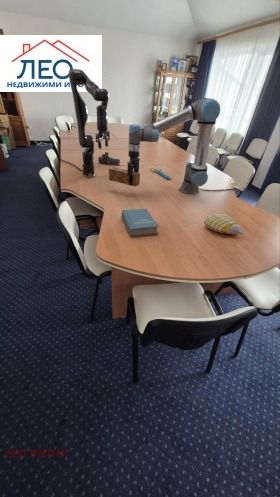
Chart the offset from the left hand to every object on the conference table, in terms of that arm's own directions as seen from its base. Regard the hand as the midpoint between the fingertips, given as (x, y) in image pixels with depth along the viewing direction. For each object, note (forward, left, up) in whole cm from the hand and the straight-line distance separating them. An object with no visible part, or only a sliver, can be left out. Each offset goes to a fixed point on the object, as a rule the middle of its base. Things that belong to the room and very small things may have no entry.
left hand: (103, 147), depth 167 cm
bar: (+22, -6, -20) cm, 31 cm away
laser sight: (-31, +51, -29) cm, 67 cm away
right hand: (+30, -6, -20) cm, 36 cm away
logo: (+27, +57, -29) cm, 70 cm away
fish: (+101, -19, -29) cm, 107 cm away
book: (+55, -43, -29) cm, 75 cm away
